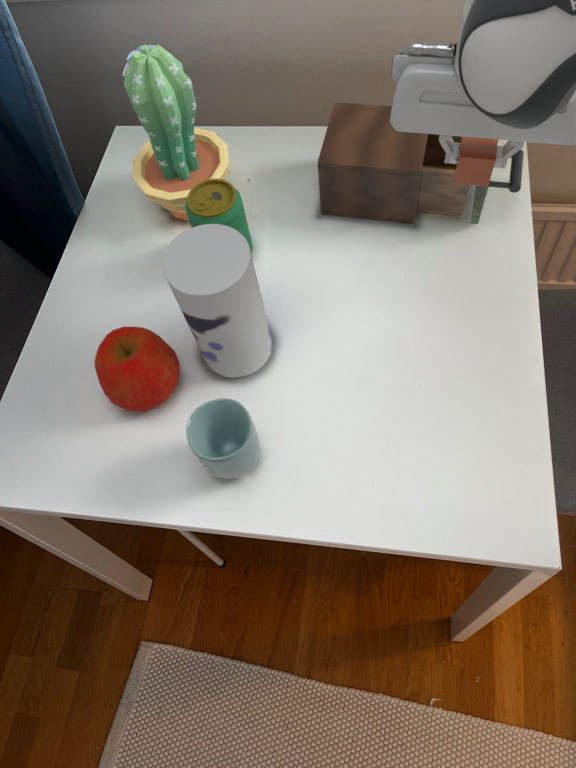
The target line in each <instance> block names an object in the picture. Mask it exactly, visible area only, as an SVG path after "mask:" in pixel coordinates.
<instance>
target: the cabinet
mask: <svg viewBox="0 0 576 768" xmlns="http://www.w3.org/2000/svg"><path fill="white" fill-rule="evenodd" d="M391 110H392V105H381V104H380V105H379V104H365V103H353V102H351V103H350V102H338V101H334V103H333V106H332V110H331V114H330V117H329V120H328V124H327V127H326V131H325V135H324V138H323V141H322V145H321V148H320V151H319V155H318V159H317V162H316V163H317V176H318V189H319V203H320V215H321V216H329V217H331V216H332V217H340V218H348V219H358V220H368V221H377V222H385V223H393V224H394V223H396V224H405V225H415V222H416V216H417V213H416V208H417V201H418V193H419V186H420V179H421V171H422V166H423V160H424V155H425V149H426V144H427V138H428V134H424V133H411V132H399V131H396V130H395V129H394V128H393V126H392V125H391V124H390V116H391Z"/></svg>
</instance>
